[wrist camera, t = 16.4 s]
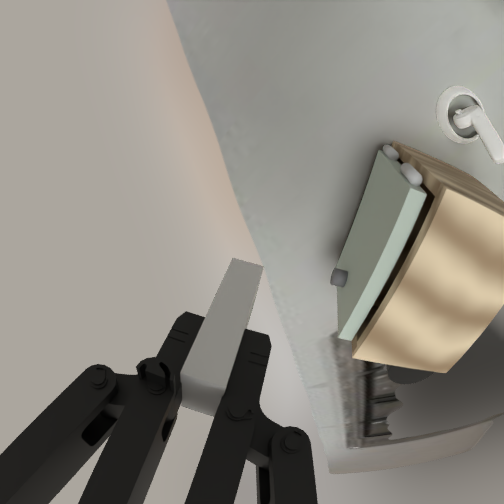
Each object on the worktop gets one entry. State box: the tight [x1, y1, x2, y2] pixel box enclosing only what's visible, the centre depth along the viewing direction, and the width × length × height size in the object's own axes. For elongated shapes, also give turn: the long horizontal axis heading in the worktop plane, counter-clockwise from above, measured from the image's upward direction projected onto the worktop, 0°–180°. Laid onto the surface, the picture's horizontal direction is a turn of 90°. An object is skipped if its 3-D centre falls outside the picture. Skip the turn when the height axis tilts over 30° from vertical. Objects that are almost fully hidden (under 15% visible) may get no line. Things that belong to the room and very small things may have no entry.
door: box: [330, 144, 427, 341], centre depth 30 cm, size 18×3×13 cm, turn 170°
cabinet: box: [352, 141, 504, 373], centre depth 29 cm, size 19×13×17 cm
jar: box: [386, 364, 434, 384], centre depth 40 cm, size 9×8×12 cm
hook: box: [436, 86, 504, 164], centre depth 25 cm, size 8×12×7 cm
